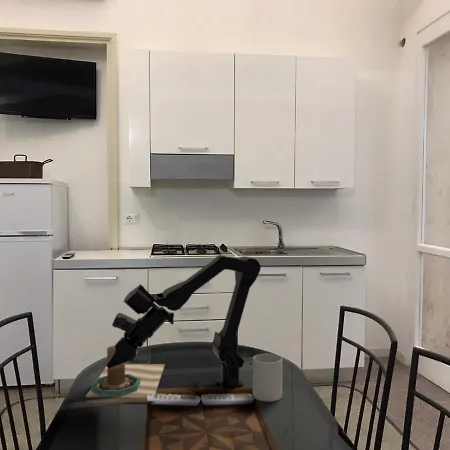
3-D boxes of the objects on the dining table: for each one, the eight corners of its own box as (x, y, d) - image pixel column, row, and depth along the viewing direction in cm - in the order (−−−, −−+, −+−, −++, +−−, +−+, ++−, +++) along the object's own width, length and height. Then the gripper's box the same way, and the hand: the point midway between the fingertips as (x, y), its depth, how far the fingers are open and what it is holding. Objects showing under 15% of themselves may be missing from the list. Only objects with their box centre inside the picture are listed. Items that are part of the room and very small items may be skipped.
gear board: (154, 402, 129) (154, 391, 129) (85, 402, 129) (85, 391, 129) (164, 368, 156) (164, 359, 156) (107, 368, 156) (107, 359, 156)
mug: (284, 401, 130) (284, 362, 129) (253, 402, 129) (254, 363, 129) (277, 385, 142) (278, 349, 141) (250, 385, 141) (250, 349, 141)
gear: (134, 391, 132) (134, 351, 132) (99, 395, 130) (99, 354, 129) (131, 379, 142) (131, 342, 141) (98, 382, 139) (98, 344, 139)
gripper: (135, 298, 144) (99, 333, 144) (123, 311, 126) (82, 352, 126) (160, 323, 145) (125, 358, 145) (152, 340, 126) (111, 380, 126)
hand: (111, 361), depth 135 cm, fingers open, 9 cm apart
